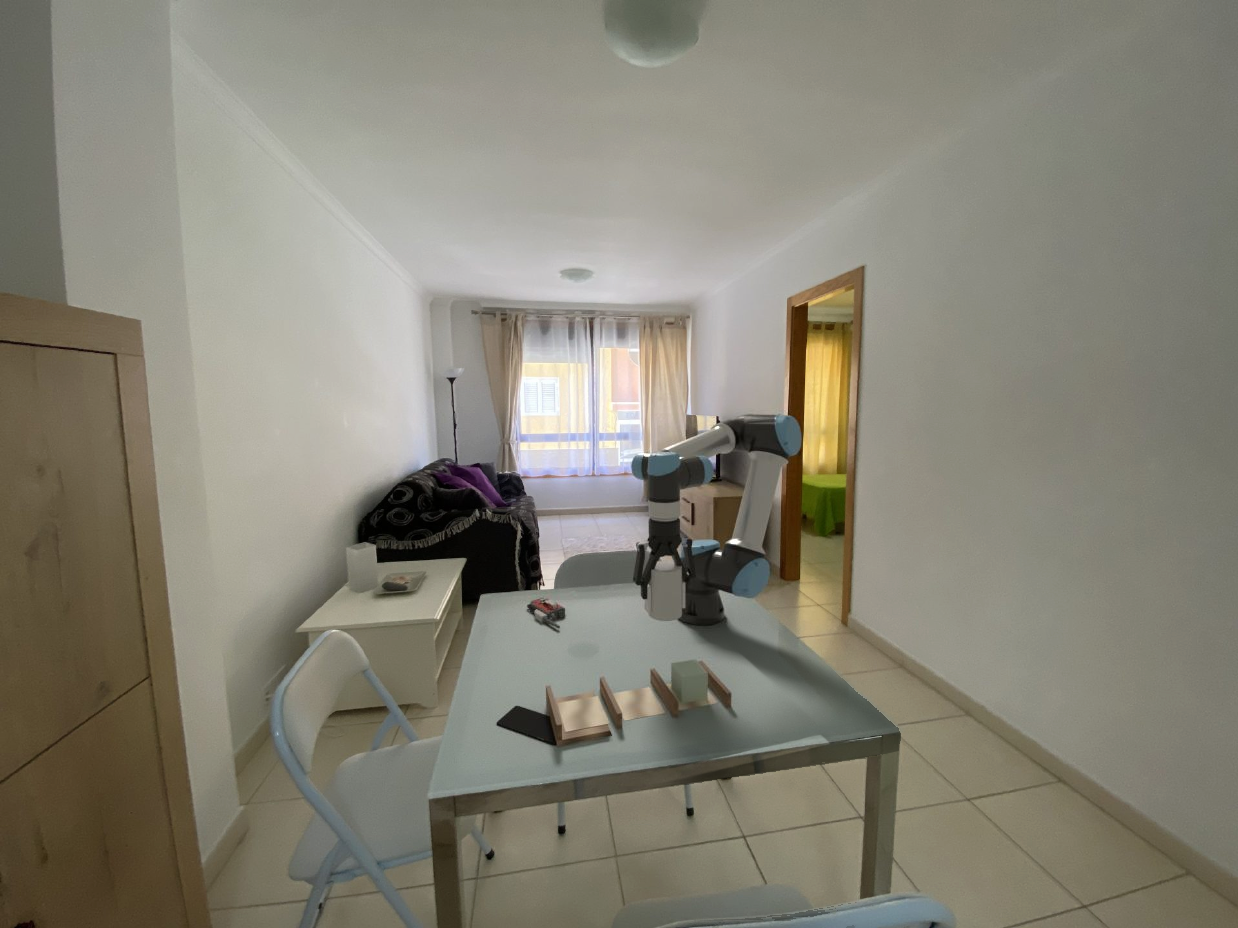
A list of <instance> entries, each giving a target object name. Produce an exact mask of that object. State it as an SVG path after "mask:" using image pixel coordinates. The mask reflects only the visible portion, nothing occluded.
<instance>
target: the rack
mask: <svg viewBox="0 0 1238 928" xmlns="http://www.w3.org/2000/svg"><path fill="white" fill-rule="evenodd" d="M697 661H698V662H699V663H700V664H701V665H702V667H703V668H704V669H705V670H706V671H707V672H708V687H709V688H710V690H712V692H713V694H715V696H716V697H717V698H719V700H720V701H721V703H722V704H723V705H724V706H725V707H726V708H730V707H732V692H731V691H730V689H729V688H728V687H727V686H726V685H725V684H724V683H723V682H722V681H721V679H719V678H718V676H717V675H716V674H715V673H714V672H713V670H711V669H710V668H709V666H708V665H707V664H706V663H705V662H704V661H703V660H697ZM649 674H650V676H649V677H650V678H649V679H650V684H651V685H652V686H653V688H654V689H655V691H656V693H657V694H658V696H659V698H660V699H661V701H662V702H663V703H664V705H665V706H666V708H667V709H668V711H669V713H670V714H671V716H672V717H673V718H679V713H680V712H679V711H684V710H688V709H694V708H698V707H704V706H709V705H714V704H718V701H717V700H716V698H715V697H714V696H713V695H712V694H711V692H710V691H709V690H708V699H704V700H698V701H693V702H688V703H681V702H680V700H679V699H678V697H677V696H676V695H675V693H674V692H673V690H672V689H671V682H670V683H666V682H665V681H664V680H663V678H662V677H661V676H660V674H659V673H658V671H657V670H656V668H650V673H649ZM594 692H595V691H592V692H586V693H585V692H584V693H579V694H573V695H568V696H567V695H566V696H561V697H556V698H555V696H554V691H553V689H552V685H545V699H546V701H545V704H546V708H547V709H546V710H547V713H548V716H550V719H551V723H552V727H553V731H554V735H555V739H556V743H557V745H556V747H557V748H558V747H561V746H563V747H564V746H568V745H573V744H577V743H582V742H588V741H592V740H593V741H594V740H597V739H604V738H609V737H612V736H613V733H612V731H611V730H610V727H609V725H610V724H611V722H610V720H609V719H608V716H607V714H606V712H605V709H604V706H603V704H602V702H601V700H600V697H599V696H598V695H595V693H594ZM599 692H600V694H601V696H602V698H603V700H604V703H605V705H606V707H607V709H608V711H609V713H610V715H611V718H612V720H613V722H614V725H615V726H616V729H617V730H618V729H622V728H623V721H624V722H627V721H631V720H635V719H640V718H641V719H642V718H647V717H652V716H657V715H662V714H663V715H664V714H666V710H665V709H664V707H663V706H662V704H661V703H660V702H659V700H658V698H657V697H656V696H655V693H654V692H653V691H652V689H651V687H649V686H647V687H643V688H642V687H641V688H637V689H636V688H635V689H630V690H625V691H620V692H612V690H611V688H610V686H609V684H608V681H607V680H606V678H605V676H600V677H599Z"/></svg>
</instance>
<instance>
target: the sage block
mask: <svg viewBox="0 0 1238 928" xmlns="http://www.w3.org/2000/svg"><path fill="white" fill-rule="evenodd" d="M698 661H699V660H697V659H689V660H683V661H677V662H670V663H671V667H670V670H671V671H670V672H671V673H670V674H671V675H670V679H671V680H670V683H671V689H672V690H673V692H674V693H675V695H676V696H677V697H678V699H679V700H680V702H681V703H688V702H693V701H698V700H704V699H708V691H709V690H708V687H709V686H708V672H707V671H706V670H705V669H704V668H703V667H702V665H701V664H700V663H699V662H698Z"/></svg>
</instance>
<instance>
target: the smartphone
mask: <svg viewBox="0 0 1238 928" xmlns="http://www.w3.org/2000/svg"><path fill="white" fill-rule="evenodd" d="M496 726H498V727H501V728H504V729H505V730H506V729H507V730H509V731H512V732H514V733H517V734H519V735H523V736H525V737H529V738H531V739H534V740H537V741H540V742H543V743H545V744H548V745H550V746H554V747H557V743H556V739H555V735H554V731H553V727H552V723H551V719H550V716H549V714H545V713H543V712H539V711H536V710H533V709H530V708H526V707H524V706H519V705H515V706H514V707H512V708H511V709H510V710H509V711H508V712H507V713H505V714H504V715H503V716H502V717H501V718H500V719H498V721H497V722H496Z"/></svg>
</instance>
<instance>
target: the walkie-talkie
mask: <svg viewBox="0 0 1238 928" xmlns="http://www.w3.org/2000/svg"><path fill="white" fill-rule="evenodd" d="M526 606H527V609H529V611H530V612H532V613H534V619H535V620H537V621H539V622H540V623H541V624H543V623H546V624H549V625H551V626H552V627H555V628H557V629H560V628H561V625H559V624H557V623H556V622H554V621H553V620H557V619H559V618H564V617H565V616H566V608H565V607H563V606H562V605H560V604H558V603H557V602H555V601H554V600H552V599H549V598H547V597H539V598H537V599H533V600H531V601H530V603H529V604H527V605H526Z"/></svg>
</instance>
